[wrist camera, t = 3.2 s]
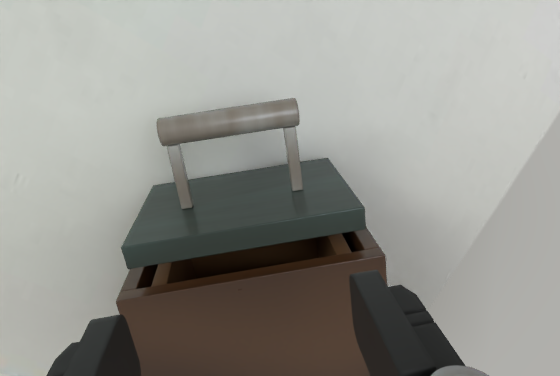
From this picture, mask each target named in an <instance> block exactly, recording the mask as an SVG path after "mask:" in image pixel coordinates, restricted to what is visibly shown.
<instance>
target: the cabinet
mask: <svg viewBox="0 0 560 376" xmlns="http://www.w3.org/2000/svg"><path fill="white" fill-rule="evenodd" d="M342 235H343V237H344V239H345V241H346V243H347V244H348V246H349V248H350V250H351V252H350V253H345V254H339V255H333V256H327V257H321V258H315V259H309V260H304V261H298V262H292V263H286V264H280V265H274V266H269V267H263V268H257V269H251V270H245V271H239V272H233V273H228V274H222V275H216V276H210V277H204V278H198V279H193V280H187V281H181V282H175V283H169V284H163V285H157V286H152V283H153V279H154V276H155V273H156V270H157V267H158V264H157V265H151V266H145V267H139V268H133V269H130V270H129V273H128V275H127V277H126V280H125V282H124V284H123V287H122V289H121V292H120V293H119V295H118V298H117V300H116V304H117V307H118V310H119V313H120V315H123V316H124V317H125V318H126V321H127V323H128V327H129V330H130V333H131V336H132V339H133V342H134V345H135V348H136V351H137V355H138V358H139V361H140V367H141V376H370V373H369V371H368V368H367V366H366V363H365V361H364V358H363V356H362V353H361V351H360V348H359V346H358V343H357V340H356V336H355V332H354V326H353V319H352V307H351V296H350V284H349V276H350V274H354V273H360V272H366V271H372V270H378V271H379V273H380V274H381V276H382V278H383V279H384V281H385V283H386V284H387V279H386V258H385V254H384V253H383V251H382V250H381V248H380V247H379V246H378V244H377V243H376V241H375V240H374V238H373V237H372V235H371V234H370V232H369V231H368V229H367V228H366V229H364V230H358V231H352V232H347V233H342ZM151 286H152V287H151Z"/></svg>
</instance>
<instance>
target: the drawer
mask: <svg viewBox="0 0 560 376" xmlns="http://www.w3.org/2000/svg"><path fill="white" fill-rule="evenodd" d="M298 125H299V110H298V105H297V101H296V99H295V98H290V99H284V100H277V101H270V102H264V103H257V104H251V105H244V106H238V107H231V108H224V109H218V110H211V111H205V112H198V113H191V114H185V115H178V116H172V117H165V118H159V119H157V132H158V137H159V140H160V142H161V144H162V146H167V150H168V154H169V158H170V162H171V167H172V171H173V175H174V179H175V182H173V183H167V184H161V185H154V186H153V187H152V189H151V191H150V193H149V195H148V197H147V199H146V201H145V203H144V205H143V207H142V208H141V210H140V212H139V214H138V216H137V218H136V220H135V222H134V224H133V226H132V228H131V230H130V232H129V234H128V235H127V237H126V239H125V241H124V243H123V245H122V247H121V249H122V252H123V255H124V259H125V262H126V265H127V268H128V269H133V268H139V267H145V266H151V265H157V264H158V267H157V270H156V273H155V276H154V279H153V283H152V286H157V285H163V284H169V283H175V282H181V281H187V280H193V279H198V278H204V277H210V276H216V275H222V274H228V273H233V272H239V271H245V270H251V269H257V268H263V267H269V266H274V265H280V264H286V263H292V262H298V261H304V260H309V259H315V258H321V257H327V256H333V255H339V254H345V253H350V252H351V250H350V248H349V246H348V244H347V243H346V241H345V239H344V237H343V235H342V233H347V232H352V231H358V230H364V229H366V223H365V208H364V206H363V205H362V203H361V202H360V201H359V199H358V198H357V197H356V195H355V194H354V193H353V191H352V190H351V189H350V187H349V186H348V185H347V183H346V182H345V181H344V179H343V178H342V176H341V175H340V174H339V172H338V171H337V170H336V168H335V167H334V166H333V164H332V163H331V162H330V160H329V159H328V158H324V159H317V160H311V161H305V162H300V159H299V150H298V142H297V134H296V127H295V126H298ZM278 128H283V130H284V137H285V145H286V152H287V160H288V164H286V165H280V166H274V167H267V168H261V169H255V170H248V171H242V172H236V173H230V174H223V175H217V176H211V177H204V178H198V179H192V180H188V177H187V173H186V168H185V164H184V159H183V155H182V151H181V146H180V144H182V143H188V142H194V141H201V140H207V139H214V138H220V137H227V136H233V135H240V134H246V133H253V132H259V131H265V130H272V129H278ZM152 286H151V287H152Z"/></svg>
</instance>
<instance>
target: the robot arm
mask: <svg viewBox="0 0 560 376" xmlns="http://www.w3.org/2000/svg"><path fill="white" fill-rule="evenodd" d="M349 284H350V296H351V307H352V319H353V326H354V332H355V336H356V340H357V343H358V346H359V348H360V351H361V353H362V356H363V358H364V361H365V363H366V366H367V368H368V371H369V373H370V376H489V375H487V374H485V373H484V372H482V371H479V370H477V369H474V368H471V367H466V366H465V365H464V363H463V362H462V360H461V359H460V358H459V356H458V355H457V353H456V352H455V350H454V349H453V347H452V346H451V345H450V343H449V341H448V340H447V339H446V337H445V336H444V334H443V333H442V331H441V330H440V329H439V327H438V326H437V324H436V323H434V321H433V318H432V317H431V315H430V314H429V313H428V311H426V308H425V307H424V305H423V304H422V302H421V301H420V300H419V298H418V297H417V295H416V294H414V293H413V292H411V291H409V290H408V289H406V288H405V287H403V286H402V285H397V286H391V287H388V286H387V284H386V283H385V281H384V279H383V278H382V276H381V274H380V273H379V271H378V270H372V271H366V272H360V273H354V274H350V276H349ZM47 376H141V367H140V361H139V358H138V355H137V351H136V348H135V345H134V342H133V339H132V336H131V333H130V330H129V327H128V323H127V321H126V318H125V317H124V316H123V315H116V316H110V317H104V318H98V319H93V320H91V321H90V323H89V324H88V326H87V328H86V330H85V332H84V334H83V337H82V339H81V341H80V342H76V343H71V344H70V345H69V346H68V347H67V348H66V349H65V350H64V351H63V352H62V353H61V354H60V355H59V356H58V357H57V358H56V359H55V361H54V363H53V365H52V367H51V368H50V370H49V372H48V374H47Z"/></svg>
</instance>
